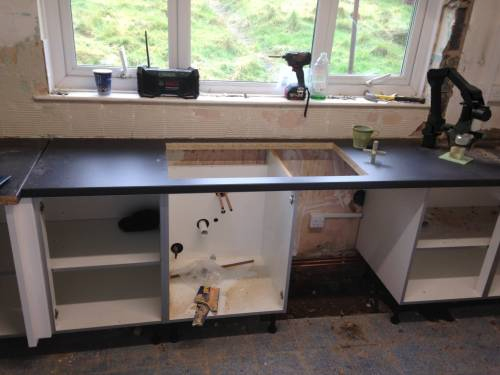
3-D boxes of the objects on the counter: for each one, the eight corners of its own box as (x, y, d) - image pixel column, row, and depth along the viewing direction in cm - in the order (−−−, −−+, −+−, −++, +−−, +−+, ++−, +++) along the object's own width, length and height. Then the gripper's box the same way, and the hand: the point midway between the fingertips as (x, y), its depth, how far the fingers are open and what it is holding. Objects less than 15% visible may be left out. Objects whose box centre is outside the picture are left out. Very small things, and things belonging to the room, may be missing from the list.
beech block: (448, 157, 205) (451, 147, 203) (452, 155, 208) (455, 145, 206) (459, 160, 202) (462, 150, 200) (463, 158, 205) (465, 148, 203)
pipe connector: (384, 160, 197) (388, 140, 193) (383, 167, 188) (387, 146, 184) (362, 157, 199) (365, 137, 195) (360, 164, 191) (363, 143, 187)
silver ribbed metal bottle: (469, 147, 223) (479, 109, 215) (455, 145, 224) (465, 108, 216) (466, 143, 229) (475, 107, 221) (452, 142, 230) (462, 105, 222)
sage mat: (438, 157, 205) (438, 156, 205) (448, 152, 213) (448, 152, 213) (464, 164, 197) (464, 163, 197) (473, 159, 205) (473, 158, 205)
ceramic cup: (349, 148, 211) (352, 129, 207) (350, 142, 220) (352, 124, 216) (376, 151, 209) (379, 132, 205) (375, 145, 217) (379, 126, 213)
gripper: (440, 114, 197) (432, 146, 203) (482, 123, 185) (473, 157, 192) (449, 111, 205) (441, 142, 211) (490, 119, 193) (481, 152, 199)
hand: (458, 148), depth 203 cm, fingers open, 9 cm apart
